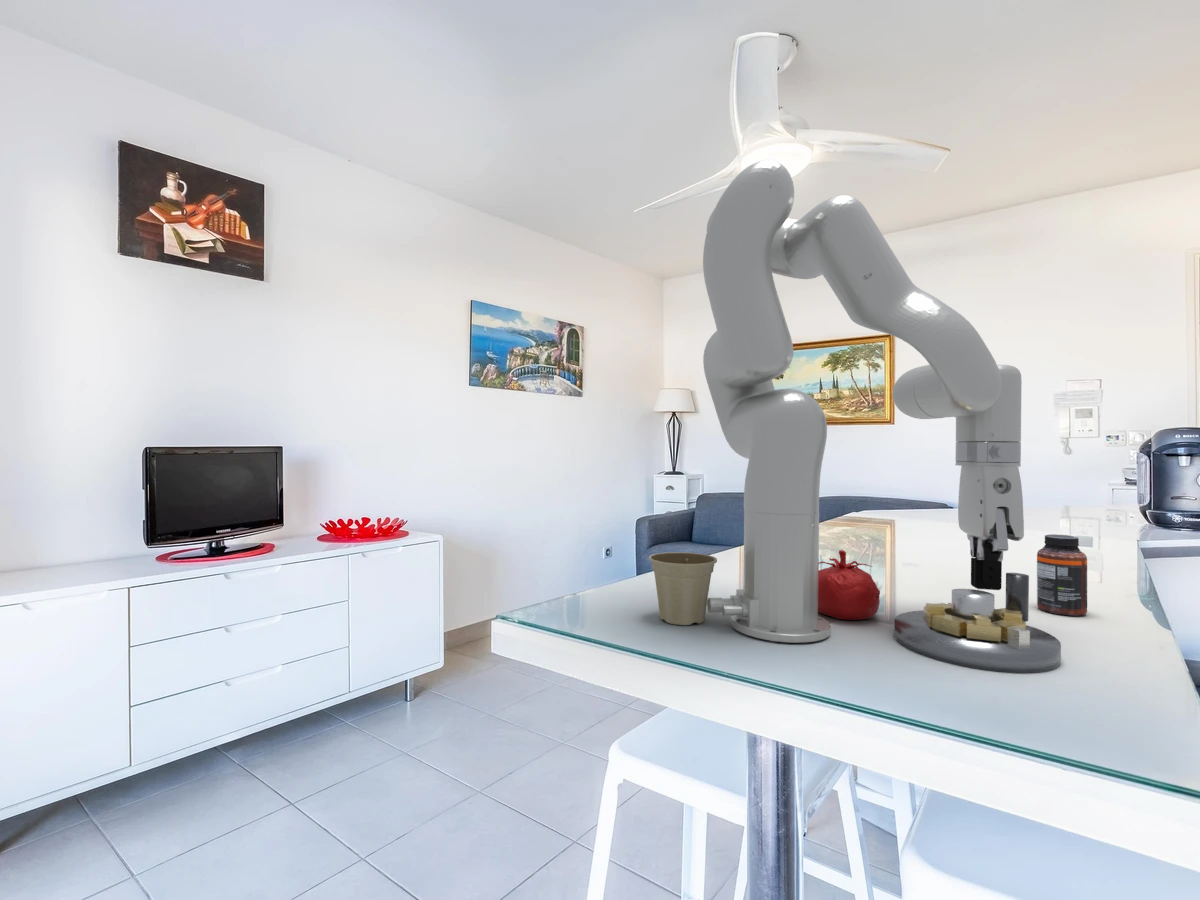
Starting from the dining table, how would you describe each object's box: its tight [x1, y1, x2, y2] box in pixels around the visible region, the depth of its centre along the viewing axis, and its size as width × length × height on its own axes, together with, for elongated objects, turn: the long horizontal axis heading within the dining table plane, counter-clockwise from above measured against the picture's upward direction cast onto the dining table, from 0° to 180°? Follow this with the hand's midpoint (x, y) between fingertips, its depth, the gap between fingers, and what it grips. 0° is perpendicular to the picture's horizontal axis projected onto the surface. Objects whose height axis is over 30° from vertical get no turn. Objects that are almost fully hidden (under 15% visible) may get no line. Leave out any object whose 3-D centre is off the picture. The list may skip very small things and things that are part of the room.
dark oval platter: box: [893, 588, 1062, 674], centre depth 71 cm, size 17×17×6 cm
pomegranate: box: [818, 549, 881, 621], centre depth 84 cm, size 10×10×9 cm
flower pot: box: [648, 551, 718, 626], centre depth 81 cm, size 9×9×9 cm
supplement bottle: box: [1036, 533, 1088, 617], centre depth 87 cm, size 6×6×11 cm
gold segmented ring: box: [923, 572, 1030, 642], centre depth 72 cm, size 15×10×6 cm, turn 115°
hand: (985, 587), depth 81 cm, fingers closed
